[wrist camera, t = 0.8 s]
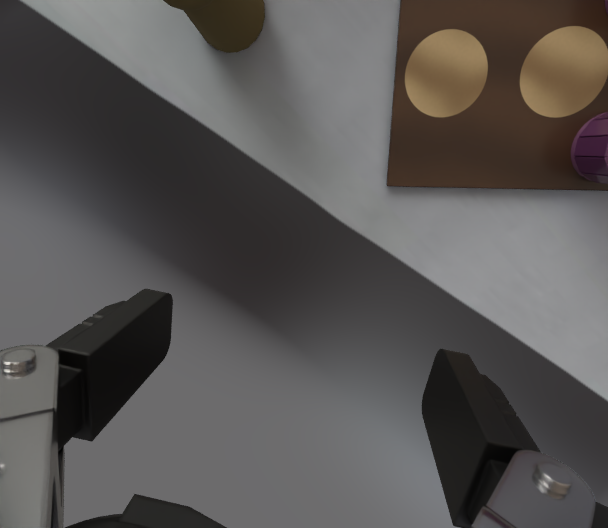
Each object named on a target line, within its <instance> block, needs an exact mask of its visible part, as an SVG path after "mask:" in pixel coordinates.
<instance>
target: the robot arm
mask: <svg viewBox="0 0 608 528" xmlns="http://www.w3.org/2000/svg"><path fill="white" fill-rule="evenodd" d="M172 305H173V300H172V296H171V294H169V293H164V292H159V291H155V290H150V289H144V290H142V291H140V292H139V293H137V294H136V295H134V296H133V297H132V298H130V299H129V300H127V301H121V302H118V303H115V304H112V305H109V306H106V307H104V308H103V309H101V310H100V311H98V312H97V313H95V314H94V315H93V317H89V318H88V319H86V320H84V321H83V322H82V324H78V325H77V326H75V327H74V328H72V329H71V330H69V331H68V332H66V333H64V334H63V335H61V336H60V337H58V338H57V339H55V340H54V341H52V342H51V343H49V344H48V345H46V346H43V345H22V346H16V347H11V348H7V349H4V350H1V351H0V528H63V507H64V506H63V505H64V445H65V444H66V443H67V442H68V441H69V440H70V439H71V438H72V437H74V438H79V439H83V440H88V441H93V440H94V439H95V437H96V436H97V435H98V434H99V433H100V432H101V430H102V429H103V428H104V427H105V426H106V425H107V424H108V423H109V421H110V420H111V419H112V418H113V417H114V416H115V415H116V413H117V412H118V411H119V410H120V409H121V407H123V405H124V404H125V403H126V402H127V401H128V400H129V399H130V397H131V396H132V395H133V394H134V393H135V392H136V391H137V389H138V388H139V387H140V386H141V385H142V384H143V383H144V381H145V380H146V379H147V378H148V377H149V376H150V375H151V373H152V372H153V371H154V370H155V369H156V368H157V367H158V365H159V364H160V363H161V362H162V361H163V359H164V358H165V356H166V354H167V352H168V349H169V346H170V341H171V323H172ZM422 415H423V419H424V423H425V427H426V430H427V433H428V437H429V441H430V444H431V448H432V451H433V455H434V459H435V462H436V466H437V469H438V473H439V476H440V480H441V484H442V487H443V491H444V494H445V498H446V502H447V505H448V509H449V512H450V516H451V519H452V523H453V525H454V526H456V527H461V528H608V507H606V506H604V505H602V504H600V503H597V502H596V501H595V497H594V495H593V493H592V491H591V489H590V488H589V486H588V485H587V484H586V483H585V482H584V480H583V479H582V478H581V477H580V476H579V475H578V474H576V473H575V472H574V471H573V470H572V469H570V468H569V467H568V466H566V465H565V464H563V463H562V462H560V461H558V460H556V459H555V458H553V457H551V456H548V455H546V454H544V453H541V452H540V450H539V448H538V447H537V445H536V444H535V442H534V441H533V439H532V438H531V436H530V434H529V433H528V431H527V430H526V428H525V426H524V425H523V423H522V422H521V420H520V419H519V417H518V416H516V412H515V411H514V409H513V408H512V406H511V405H509V401H508V400H507V398H506V397H505V395H504V394H503V392H502V390H501V389H500V388H499V387H498V386H497V385H496V384H495V383H493V382H492V381H491V380H490V379H489V378H488V377H487V376H486V375H482V374H480V373H479V371H478V370H477V368H476V366H475V365H474V363H473V361H472V359H471V358H470V356H469V355H468V354H465V353H460V352H455V351H450V350H445V349H440V350H439V351H438V352H437V354H436V357H435V360H434V362H433V366H432V369H431V372H430V375H429V378H428V381H427V384H426V388H425V391H424V394H423V400H422ZM65 528H226V527H224V526H223V525H221V524H219V523H217V522H216V521H214V520H212V519H210V518H208V517H207V516H205V515H203V514H201V513H200V512H198V511H196V510H194V509H192V508H190V507H188V506H184V505H179V504H175V503H171V502H166V501H162V500H158V499H154V498H150V497H145V496H141V495H137V494H134V496H133V497H132V499H131V501H130V502H129V504H128V506H127V507H126V509H125V511H124V512H123V514H115V515H108V516H102V517H97V518H93V519H89V520H85V521H82V522H79V523H76V524H73V525H71V526H68V527H65Z"/></svg>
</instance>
